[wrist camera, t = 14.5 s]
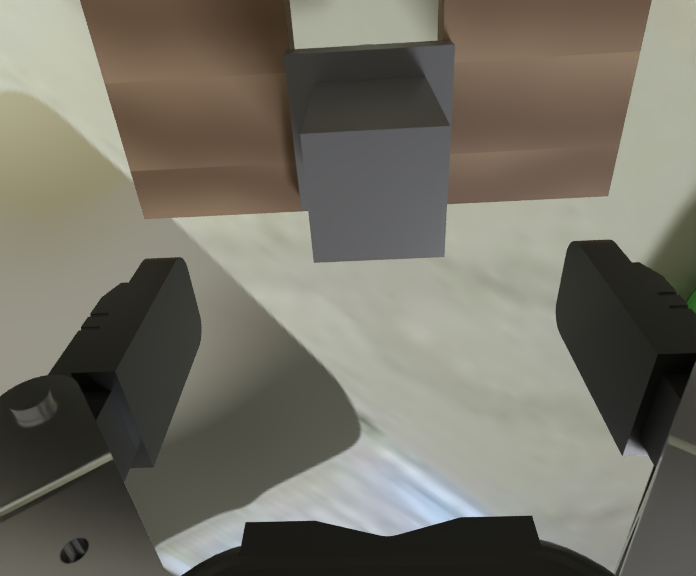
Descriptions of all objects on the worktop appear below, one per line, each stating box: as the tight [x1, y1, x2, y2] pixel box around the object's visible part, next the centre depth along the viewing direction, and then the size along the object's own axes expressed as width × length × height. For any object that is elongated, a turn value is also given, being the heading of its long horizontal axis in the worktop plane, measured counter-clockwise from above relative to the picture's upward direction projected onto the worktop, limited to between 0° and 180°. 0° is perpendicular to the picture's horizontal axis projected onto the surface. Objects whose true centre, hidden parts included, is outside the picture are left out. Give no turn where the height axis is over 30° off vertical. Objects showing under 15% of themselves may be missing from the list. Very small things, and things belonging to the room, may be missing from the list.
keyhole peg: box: [284, 40, 455, 263], centre depth 21 cm, size 6×6×13 cm
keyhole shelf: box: [80, 0, 652, 219], centre depth 25 cm, size 13×20×12 cm, turn 93°
